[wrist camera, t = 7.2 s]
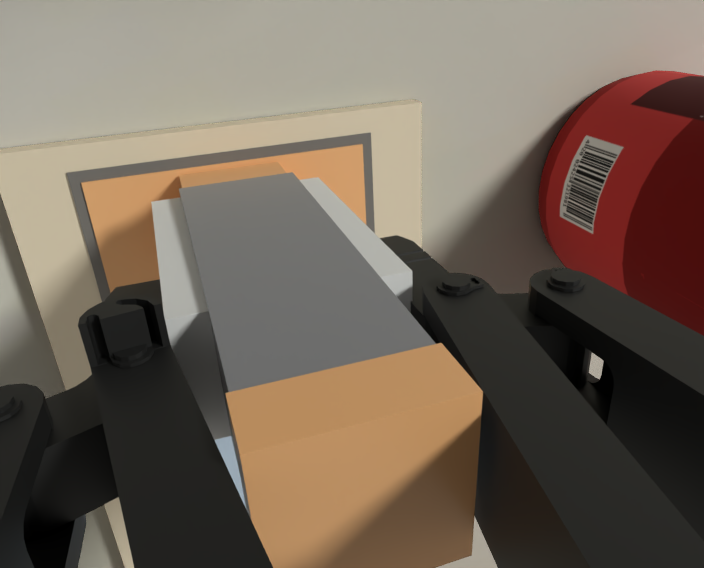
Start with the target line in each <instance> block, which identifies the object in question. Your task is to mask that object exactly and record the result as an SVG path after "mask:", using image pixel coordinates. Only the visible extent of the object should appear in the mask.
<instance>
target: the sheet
mask: <svg viewBox="0 0 704 568" xmlns="http://www.w3.org/2000/svg"><path fill="white" fill-rule="evenodd" d="M271 162H278V163H279V164H280V165H281V167H282V168H283V169H284V170H285V172H286V173H291V172H293V173H294V175H295V176H296V177H297V178H298V179H299V180H302V179H309V178H316V177H319V178H320V179H321V180H322V181H323V182H324V183H325V184H326V185H327V186H328V187H329V188H330V189H331V190H332V191H333V192H334V193H335V194H336V195H337V196H338V197H339V198H340V199H341V200H342V201H343V202H344V203H345V204H346V205H347V206H348V207H349V208H350V209H351V210H352V211H353V212H354V213H355V214H356V215H357V216H358V217H359V218H360V219H361V220H362V221H363V222H364V223H365V224H366V225H367V226H368V227H369V228H370V229H371V230H372V231H373V232H374V233H375V234H376V235H377V236H378V237H379V238H384V237H389V236H395V235H398V236H401V237H404V238H406V239H409V240H412V241H414V242H415V243H416V244H417V245H418V246H419V247H420V248H422V102H420V101H417V100H415V99H412V100H404V101H395V102H387V103H379V104H370V105H362V106H354V107H345V108H337V109H329V110H320V111H312V112H304V113H295V114H287V115H279V116H270V117H262V118H254V119H245V120H237V121H229V122H220V123H212V124H204V125H195V126H187V127H179V128H170V129H162V130H154V131H145V132H137V133H128V134H120V135H112V136H103V137H95V138H87V139H78V140H70V141H62V142H53V143H45V144H37V145H28V146H20V147H12V148H3V149H0V194H1V197H2V200H3V203H4V206H5V209H6V212H7V215H8V218H9V221H10V224H11V227H12V230H13V233H14V236H15V239H16V242H17V245H18V248H19V251H20V254H21V257H22V260H23V263H24V266H25V269H26V272H27V275H28V278H29V281H30V284H31V287H32V290H33V293H34V296H35V299H36V302H37V305H38V308H39V311H40V314H41V317H42V320H43V323H44V326H45V329H46V332H47V335H48V338H49V341H50V344H51V347H52V350H53V353H54V356H55V359H56V362H57V365H58V368H59V371H60V374H61V377H62V380H63V383H64V386H65V389H66V390H69V389H71V388H73V387H75V386H77V385H78V384H80V383H82V382H83V381H85V380H86V379H87V378H88V377H90V376H91V375H92V372H91V368H90V364H89V361H88V358H87V354H86V351H85V348H84V344H83V341H82V338H81V334H80V331H79V328H78V322H79V318H80V317H81V316H82V315H83V314H84V313H85V312H86V311H87V310H88V309H90V308H92V307H93V306H95V305H97V304H99V303H101V302H104V301H105V299H106V298H107V297H108V296H109V295H110V293H111V292H112V291H113V290H114V289H115V288H116V287H120V286H125V285H131V284H137V283H142V282H148V281H153V280H159V279H160V276H159V267H158V258H157V249H156V240H155V231H154V222H153V213H152V204H151V202H153V201H159V200H166V199H173V198H180V193H179V188H181V183H180V178H179V175H184V174H192V173H199V172H206V171H213V170H221V169H228V168H235V167H242V166H250V165H257V164H264V163H271ZM215 443H216V445H217V447H218V449H219V451H220V453H221V456H222V458H223V460H224V462H225V464H226V466H227V469H228V471H229V473H230V475H231V477H232V479H233V482H234V484H235V486H236V488H237V490H238V492H239V495H240V497H241V499H242V501H243V503H244V505H245V499H244V494H243V488H242V483H241V477H240V473H239V469H238V464H237V460H236V455H235V451H234V447H233V442H232V438H231V436H228V437H224V438H220V439H216V440H215ZM104 506H105V509H106V512H107V515H108V518H109V521H110V524H111V527H112V530H113V533H114V536H115V539H116V542H117V545H118V548H119V551H120V554H121V557H122V560H123V563H124V566H125V568H134V564H133V560H132V555H131V551H130V546H129V541H128V537H127V532H126V528H125V523H124V519H123V514H122V509H121V505H120V500H119V497H118V498H116V499H114V500H112V501H110V502H108V503H106V504H104ZM245 508H246V505H245Z"/></svg>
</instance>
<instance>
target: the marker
mask: <svg viewBox="0 0 704 568" xmlns="http://www.w3.org/2000/svg"><path fill="white" fill-rule="evenodd" d="M179 178H180V183H181V188H179V193H180V198H181V202H182V206H183V210H184V214H185V218H186V222H187V226H188V230H189V235H190V239H191V243H192V247H193V251H194V255H195V259H196V263H197V267H198V271H199V275H200V279H201V283H202V287H203V291H204V295H205V299H206V303H207V307H208V311H209V317H210V322H211V328H212V333H213V339H214V344H215V350H216V355H217V361H218V366H219V371H220V377H221V382H222V388H223V393H224V399H225V404H226V410H227V415H228V420H229V426H230V431H231V438H232V442H233V447H234V451H235V455H236V460H237V464H238V469H239V473H240V477H241V483H242V488H243V494H244V499H245V505H246V510H247V512H248V514H249V516H250V518H251V521H252V523H253V525H254V527H255V529H256V531H257V534H258V536H259V538H260V540H261V542H262V544H263V547H264V549H265V551H266V553H267V555H268V557H269V560H270V562H271V564H272V566H273V568H435V567H438V566H441V565H444V564H447V563H450V562H453V561H456V560H459V559H462V558H465V557H468V556H471V555H472V542H473V528H474V513H475V499H476V485H477V471H478V456H479V442H480V428H481V413H482V399H483V391H482V390H481V388H480V387H479V386H478V385H477V384H476V383H475V381H474V380H473V379H472V378H471V377H470V376H469V374H468V373H467V372H466V371H465V370H464V369H463V367H462V366H461V365H460V364H459V363H458V362H457V360H456V359H455V358H454V357H453V356H452V354H451V353H450V352H449V351H448V350H447V349H446V347H445V346H444V345H443V344H442V343H438V344H436V343H435V342H434V341H433V340H432V338H431V337H430V336H429V335H428V334H427V332H426V331H425V330H424V329H423V328H422V326H421V325H420V324H419V323H418V322H417V320H416V319H415V318H414V317H413V316H412V314H411V313H410V312H409V311H408V310H407V308H406V307H405V306H404V305H403V304H402V302H401V301H400V300H399V299H398V298H397V296H396V295H395V294H394V293H393V292H392V290H391V289H390V288H389V287H388V286H387V285H386V283H385V282H384V281H383V280H382V279H381V277H380V276H379V275H378V274H377V273H376V271H375V270H374V269H373V268H372V267H371V265H370V264H369V263H368V262H367V261H366V259H365V258H364V257H363V256H362V255H361V253H360V252H359V251H358V250H357V249H356V247H355V246H354V245H353V244H352V243H351V241H350V240H349V239H348V238H347V237H346V235H345V234H344V233H343V232H342V231H341V230H340V228H339V227H338V226H337V225H336V224H335V222H334V221H333V220H332V219H331V218H330V216H329V215H328V214H327V213H326V212H325V210H324V209H323V208H322V207H321V206H320V204H319V203H318V202H317V201H316V200H315V198H314V197H313V196H312V195H311V194H310V192H309V191H308V190H307V189H306V188H305V186H304V185H303V184H302V183H301V182H300V180H299V179H298V178H297V177H296V176H295V175H294V173H293V172H291V173H286V172H285V170H284V169H283V168H282V167H281V165H280V164H279V163H278V162H271V163H264V164H257V165H250V166H242V167H235V168H228V169H221V170H213V171H206V172H199V173H192V174H184V175H179Z"/></svg>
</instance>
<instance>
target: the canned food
mask: <svg viewBox="0 0 704 568" xmlns="http://www.w3.org/2000/svg"><path fill="white" fill-rule="evenodd" d="M539 215H540V220H541V226H542V229H543V231H544V234H545V236H546V239H547V241H548V243H549V244H550V246H551V247H552V249H553V250H554V252H555V253H556V255H557V256H558V257H559V259H560V260H561V262H562V263H563V264H564V266H565V267H567V268H569V269H571V270H574V271H580V272H583V273H585V274H588V275H590V276H593V277H594V278H596V279H598V280H600V281H602V282H604V283H606V284H608V285H609V286H611V287H613V288H615V289H617V290H619V291H621V292H623V293H624V294H626V295H628V296H630V297H632V298H634V299H636V300H638V301H639V302H641V303H643V304H645V305H647V306H649V307H651V308H652V309H654V310H656V311H658V312H660V313H662V314H664V315H666V316H667V317H669V318H671V319H673V320H675V321H677V322H679V323H681V324H682V325H684V326H686V327H688V328H690V329H692V330H694V331H696V332H697V333H699V334H701V335H703V336H704V76H701V75H694V74H687V73H681V72H674V71H652V72H647V73H643V74H638V75H634V76H630V77H626V78H622V79H619V80H617V81H615V82H613V83H611V84H608V85H606V86H604V87H603V88H601V89H600V90H598V91H597V92H596V93H594V94H593V95H591V96H590V97H589V98H587V99H586V100H585V101H584V102H583V103H582V104H581V105H580V106H579V107H578V108H577V109H576V110H575V111H574V112H573V113H572V115H571V116H570V118H569V119H568V120H567V122H566V123H565V124H564V126H563V127H562V129H561V130H560V131H559V133H558V135H557V137H556V139H555V141H554V143H553V145H552V147H551V149H550V151H549V153H548V156H547V159H546V162H545V165H544V168H543V171H542V176H541V182H540V187H539Z"/></svg>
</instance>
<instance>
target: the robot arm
mask: <svg viewBox="0 0 704 568" xmlns="http://www.w3.org/2000/svg"><path fill="white" fill-rule="evenodd" d="M300 182H301V183H302V184H303V185H304V186H305V188H306V189H307V190H308V191H309V192H310V194H311V195H312V196H313V197H314V198H315V200H316V201H317V202H318V203H319V204H320V206H321V207H322V208H323V209H324V210H325V212H326V213H327V214H328V215H329V216H330V218H331V219H332V220H333V221H334V222H335V224H336V225H337V226H338V227H339V228H340V230H341V231H342V232H343V233H344V234H345V235H346V237H347V238H348V239H349V240H350V241H351V243H352V244H353V245H354V246H355V247H356V249H357V250H358V251H359V252H360V253H361V255H362V256H363V257H364V258H365V259H366V261H367V262H368V263H369V264H370V265H371V267H372V268H373V269H374V270H375V271H376V273H377V274H378V275H379V276H380V277H381V279H382V280H383V281H384V282H385V283H386V285H387V286H388V287H389V288H390V289H391V290H392V292H393V293H394V294H395V295H396V296H397V298H398V299H399V300H400V301H401V302H402V304H403V305H404V306H405V307H406V308H407V310H408V311H409V312H410V313H411V314H412V316H413V317H414V318H415V319H416V320H417V322H418V323H419V324H420V325H421V326H422V328H423V329H424V330H425V331H426V332H427V334H428V335H429V336H430V337H431V338H432V340H433V341H434V342H435V343H436V344H438V343H442V344H443V345H444V346H445V347H446V349H447V350H448V351H449V352H450V353H451V354H452V356H453V357H454V358H455V359H456V360H457V362H458V363H459V364H460V365H461V366H462V367H463V369H464V370H465V371H466V372H467V373H468V374H469V376H470V377H471V378H472V379H473V380H474V381H475V383H476V384H477V385H478V386H479V387H480V388H481V390H482V391H483V399H482V413H481V428H480V442H479V456H478V471H477V485H476V499H475V513H474V515H475V517H476V520H477V522H478V524H479V526H480V529H481V531H482V533H483V535H484V538H485V540H486V542H487V544H488V546H489V549H490V551H491V553H492V555H493V558H494V560H495V562H496V564H497V567H498V568H704V336H703V335H701V334H699V333H697V332H696V331H694V330H692V329H690V328H688V327H686V326H684V325H682V324H681V323H679V322H677V321H675V320H673V319H671V318H669V317H667V316H666V315H664V314H662V313H660V312H658V311H656V310H654V309H652V308H651V307H649V306H647V305H645V304H643V303H641V302H639V301H638V300H636V299H634V298H632V297H630V296H628V295H626V294H624V293H623V292H621V291H619V290H617V289H615V288H613V287H611V286H609V285H608V284H606V283H604V282H602V281H600V280H598V279H596V278H594V277H593V276H590V275H588V274H585V273H583V272H580V271H574V270H571V269H569V268H562V269H561V268H553V269H549V270H543V271H540V272H538V273H536V274H534V275H533V276H532V277H531V279H530V284H529V293H523V294H497V293H496V292H495V291H494V290H493V289H492V287H491V286H490V285H489V284H488V283H487V282H485V281H484V280H483V279H481V278H479V277H476V276H473V275H469V274H462V273H449V272H447V271H446V270H445V269H444V268H443V267H442V266H441V265H440V264H438V263H437V262H436V261H435V260H434V259H433V258H431V256H429V255H428V254H427V253H426V252H425V251H424V252H423V249H422V248H420V247H419V246H418V245H417V244H416V243H415V242H414V241H412V240H409V239H406V238H404V237H401V236H398V235H395V236H389V237H384V238H379V237H378V236H377V235H376V234H375V233H374V232H373V231H372V230H371V229H370V228H369V227H368V226H367V225H366V224H365V223H364V222H363V221H362V220H361V219H360V218H359V217H358V216H357V215H356V214H355V213H354V212H353V211H352V210H351V209H350V208H349V207H348V206H347V205H346V204H345V203H344V202H343V201H342V200H341V199H340V198H339V197H338V196H337V195H336V194H335V193H334V192H333V191H332V190H331V189H330V188H329V187H328V186H327V185H326V184H325V183H324V182H323V181H322V180H321V179H320V178H319V177H316V178H309V179H302V180H300ZM151 204H152V213H153V222H154V231H155V240H156V249H157V258H158V267H159V276H160V279H159V280H153V281H148V282H142V283H137V284H131V285H125V286H120V287H116V288H115V289H114V290H113V291H112V292H111V293H110V295H109V296H108V297H107V298H106V299H105V301H104V302H101V303H99V304H97V305H95V306H93V307H92V308H90V309H88V310H87V311H86V312H85V313H84V314H83V315H82V316H81V317H80V318H79V322H78V328H79V331H80V334H81V338H82V341H83V344H84V348H85V351H86V354H87V358H88V361H89V364H90V368H91V372H92V375H91V376H90V377H88V378H87V379H86V380H85V381H83V382H82V383H80V384H78V385H77V386H75V387H73V388H71V389H69V390H66V391H64V392H62V393H59V394H57V395H54V396H52V397H49V398H47V399H45V397H44V394H43V392H42V391H41V390H40V389H39V388H37V387H36V386H32V385H27V384H14V385H6V386H2V387H0V568H78V563H79V558H80V553H81V548H82V542H83V537H84V532H85V527H86V516H85V514H86V513H88V512H90V511H92V510H94V509H96V508H98V507H100V506H102V505H104V504H106V503H108V502H110V501H112V500H114V499H116V498H118V497H119V500H120V505H121V509H122V514H123V519H124V523H125V528H126V532H127V537H128V541H129V546H130V551H131V555H132V560H133V564H134V568H273V566H272V564H271V562H270V560H269V557H268V555H267V553H266V551H265V549H264V547H263V544H262V542H261V540H260V538H259V536H258V534H257V531H256V529H255V527H254V525H253V523H252V521H251V518H250V516H249V514H248V512H247V510H246V508H245V505H244V503H243V501H242V499H241V497H240V495H239V492H238V490H237V488H236V486H235V484H234V482H233V479H232V477H231V475H230V473H229V471H228V469H227V466H226V464H225V462H224V460H223V458H222V456H221V453H220V451H219V449H218V447H217V445H216V443H215V440H216V439H220V438H224V437H228V436H231V431H230V426H229V420H228V415H227V410H226V404H225V399H224V393H223V388H222V382H221V377H220V371H219V366H218V361H217V355H216V350H215V344H214V339H213V333H212V328H211V322H210V317H209V311H208V307H207V303H206V299H205V295H204V291H203V287H202V283H201V279H200V275H199V271H198V267H197V263H196V259H195V255H194V251H193V247H192V243H191V239H190V235H189V230H188V226H187V222H186V218H185V214H184V210H183V206H182V202H181V198H173V199H166V200H159V201H153V202H151ZM591 353H594V354H595V355H597V356H598V357H600V358H601V359H602V360H603V361H604V363H603V369H602V375H601V378H600V380H599V379H597V378H595V377H594V376H592V375H591V374H590V373H589V366H590V359H591Z"/></svg>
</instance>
